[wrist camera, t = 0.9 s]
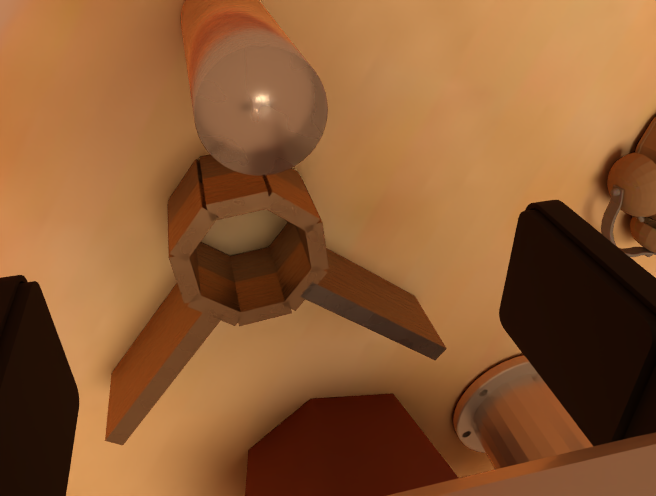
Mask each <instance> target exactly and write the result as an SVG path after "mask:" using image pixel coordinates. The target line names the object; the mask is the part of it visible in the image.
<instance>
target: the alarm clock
mask: <svg viewBox="0 0 656 496" xmlns="http://www.w3.org/2000/svg"><path fill="white" fill-rule="evenodd" d="M607 184H608V191H609V194H610V197H611V200H610V202H609V204H608V206H607V209H606V211H605V213H604V216H603V219H602V224H601V232H602V235H603V236H604V237H606V238H607V239H608V240H609V241H611V242H612V243H613V244H614V245H616V244H615V241H614V237H613V227H614V222H615V219H616V216H617V214H618V212H619V210H620V209H621V210H622V211H623V212H625V213H627V214H629V215H632V216H633V217H632V219H631V222H630V230H631V233H632V236H633V237H634V239H635V240H636V241H637V242H638V243H639V244H640V245H642V246H643V247H632V248H626V249H621V248H619V249H620V250H622V251H623V252H624V253H625V254H627V255H628V256H629V257H636V256H640V255H645V256H647V257H650V256H652V255H653V254H654V255H656V222H655V221H656V117H655V118H654V119H653V120H652V122H651V123H650V125H649V126H648V128H647V130H646V131H645V133H644V135H643V136H642V138H641V139H640V141H639V143H638V145H637V148H636V150H635V153H631V154H627V155H625V156H624V157H622V158H621V159H619V160H618V161H616V162H615V163H614V165H613V166H612V168H611V169H610V172H609V175H608V180H607ZM635 216H636V217H638V219H639V220H638V219H637V218H636V217H635ZM645 217H649V218H651V219H653V220H655V221H652V220H651V221H650V222H648V223H647V224H645V223H643V222H644V220H645V219H644V218H645Z"/></svg>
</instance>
